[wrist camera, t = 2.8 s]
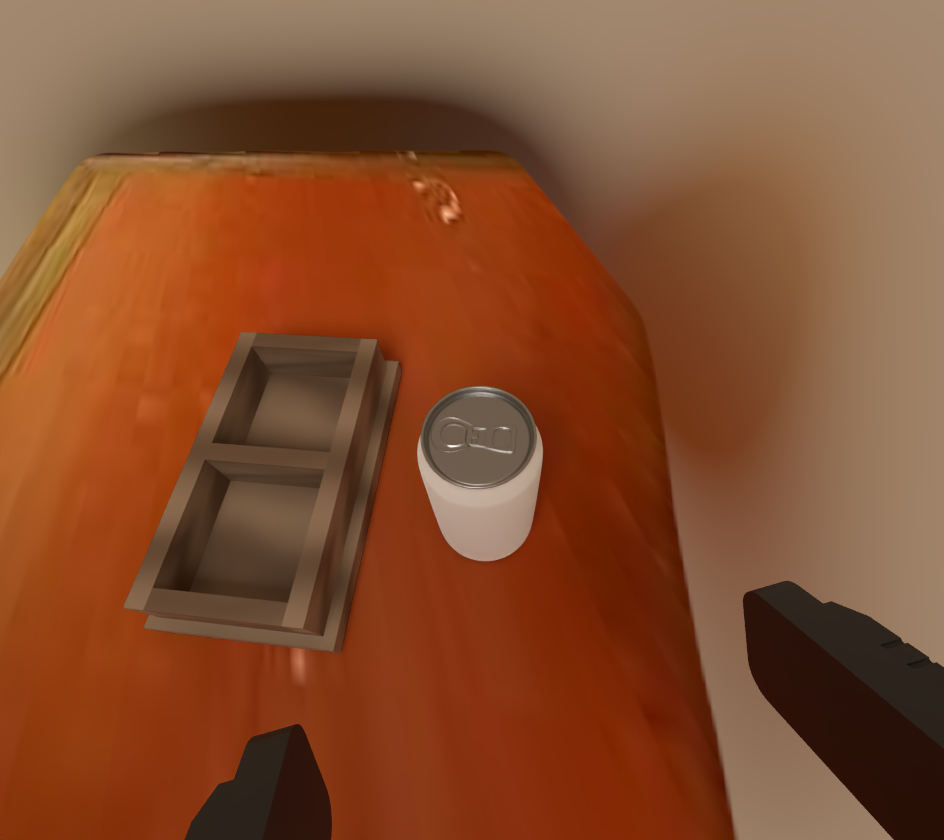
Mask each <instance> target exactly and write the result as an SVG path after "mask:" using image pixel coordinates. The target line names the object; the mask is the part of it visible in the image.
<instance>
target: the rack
mask: <svg viewBox="0 0 944 840" xmlns="http://www.w3.org/2000/svg"><path fill="white" fill-rule="evenodd" d="M401 373H402V371H401V368H400V365H399V361H387V360H384V358H383V355H382V352H381V349H380V346H379V343H378V340H377V339H359V338H340V337H322V336H304V335H285V334H267V333H249V332H241V334H240V337H239V339H238V341H237V344H236V346H235V348H234V351H233V353H232V355H231V358H230V360H229V362H228V365H227V367H226V369H225V372H224V374H223V376H222V379H221V381H220V383H219V386H218V388H217V390H216V393H215V395H214V397H213V400H212V402H211V404H210V407H209V409H208V411H207V414H206V416H205V418H204V421H203V423H202V425H201V428H200V430H199V432H198V435H197V437H196V439H195V441H194V444H193V446H192V448H191V451H190V453H189V455H188V458H187V460H186V462H185V465H184V467H183V469H182V472H181V474H180V476H179V479H178V481H177V483H176V486H175V488H174V490H173V493H172V495H171V497H170V500H169V502H168V504H167V507H166V509H165V511H164V514H163V516H162V518H161V521H160V523H159V525H158V528H157V530H156V532H155V535H154V537H153V539H152V542H151V544H150V546H149V549H148V551H147V553H146V556H145V558H144V560H143V563H142V565H141V567H140V570H139V572H138V574H137V577H136V579H135V581H134V584H133V586H132V588H131V591H130V593H129V595H128V598H127V600H126V602H125V604H124V607H123V608H126V609H130V610H134V611H138V612H141V613H145V614H149V616H148V618H147V621H146V623H145V626H144V628H145V629H150V630H154V631H160V632H168V633H176V634H185V635H193V636H201V637H210V638H218V639H226V640H235V641H243V642H251V643H260V644H268V645H276V646H285V647H293V648H301V649H310V650H318V651H326V652H335V653H341V649H342V644H343V640H344V635H345V631H346V626H347V621H348V617H349V612H350V608H351V603H352V598H353V594H354V589H355V585H356V580H357V575H358V571H359V566H360V562H361V557H362V553H363V548H364V543H365V539H366V534H367V530H368V525H369V520H370V516H371V511H372V507H373V502H374V497H375V493H376V488H377V484H378V479H379V474H380V470H381V465H382V461H383V456H384V451H385V447H386V442H387V438H388V433H389V428H390V424H391V419H392V415H393V410H394V405H395V401H396V396H397V392H398V387H399V383H400V378H401Z"/></svg>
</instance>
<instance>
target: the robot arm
mask: <svg viewBox="0 0 944 840" xmlns="http://www.w3.org/2000/svg"><path fill="white" fill-rule="evenodd" d="M743 608H744V619H745V631H746V642H747V653H748V662H749V667H750V670H751V673H752V676H753V678H754V680H755V682H756V684H757V686H758V688H759V689H760V691H761V693H762V694H763V695H764V697H765V698H766V699H767V701H768V702H769V703H770V704H771V705H772V706H773V707H774V708H775V709H776V711H777V712H778V713H779V714H780V715H781V716H782V717H783V718H784V719H785V720H786V721H787V723H788V724H789V725H790V726H791V727H792V728H793V729H794V730H795V731H796V733H797V734H798V735H799V736H800V737H801V738H802V739H803V740H804V741H805V742H806V743H807V745H808V746H809V747H810V748H811V749H812V750H813V751H814V752H815V753H816V755H817V756H818V757H819V758H820V759H821V760H822V761H823V762H824V763H825V764H826V766H827V767H828V768H829V769H830V770H831V771H832V772H833V773H834V774H835V775H836V777H837V778H838V779H839V780H840V781H841V782H842V783H843V784H844V785H845V786H846V788H847V789H848V790H849V791H850V792H851V793H852V794H853V795H854V796H855V798H856V799H857V800H858V801H859V802H860V803H861V804H862V805H863V806H864V807H865V809H866V810H867V811H868V812H869V813H870V814H871V815H872V816H873V817H874V818H875V819H876V821H878V823H879V824H880V825H881V826H882V827H883V828H884V829H885V831H886V832H887V833H888V834H889V835H890V836H891V837H892V838H893V839H894V840H944V667H942V666H941V665H940V664H938V663H937V662H936V663H932V662H931V661H930V659H929V657H928V656H926V655H925V654H923V653H922V652H920V651H919V650H918V649H916V648H914V647H913V646H912V645H910V644H909V643H906V644H905V643H903V642H902V640H901V638H900V637H898V636H897V635H895V634H894V633H893V632H891V631H890V630H888V629H887V628H885V627H884V626H882V625H881V624H879V623H878V622H876V621H875V620H873V619H872V618H871V617H869V616H867V615H864V614H862V613H859V612H856V611H854V610H852V609H849V608H847V607H844V606H842V605H839V604H837V603H834V602H828V603H824V604H823V603H821V602H820V601H819V600H817V599H816V598H814V597H813V596H812V595H810V594H809V593H808V592H806V591H805V590H803V589H802V588H801V587H799V586H798V585H796V584H795V583H793V582H790V581H784V582H780V583H777V584H773V585H770V586H766V587H763V588H759V589H756V590H753V591H749V592H747V593H746V594H745V595H744V598H743ZM331 831H332V817H331V806H330V800H329V795H328V791H327V788H326V786H325V783H324V781H323V778H322V775H321V773H320V770H319V768H318V765H317V762H316V760H315V757H314V755H313V752H312V750H311V747H310V744H309V742H308V739H307V737H306V734H305V732H304V730H303V728H302V727H301V726H300V725H299V724H295V725H292V726H289V727H285V728H282V729H278V730H275V731H271V732H268V733H264V734H261V735H257V736H254V737H252V738H251V739H250V740H249V741H248V743H247V745H246V747H245V750H244V753H243V756H242V758H241V761H240V764H239V767H238V770H237V773H236V775H235V778H234V780H231V781H228V782H224V783H221V784H218V786H217V787H216V789H215V790H214V791H213V793H212V794H211V796H210V797H209V798H208V800H207V801H206V803H205V804H204V805H203V807H202V808H201V810H200V811H199V812H198V814H197V815H196V817H195V818H194V819H193V821H192V823H191V825H190V828H189V830H188V833H187V835H186V838H185V840H331Z"/></svg>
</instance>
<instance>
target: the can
mask: <svg viewBox="0 0 944 840" xmlns="http://www.w3.org/2000/svg"><path fill="white" fill-rule="evenodd" d="M417 456H418V465H419V469H420V472H421V476H422V479H423V482H424V485H425V488H426V491H427V493H428V496H429V499H430V502H431V505H432V508H433V510H434V513H435V516H436V519H437V522H438V524H439V527H440V529H441V532H442V534H443V536H444V538H445V539H446V541H447V542H448V544H449V545H450V546H451V547H452V548H453V549H454V550H455V551H457V552H458V553H459V554H461V555H463V556H465V557H467V558H470V559H473V560H478V561H493V560H498V559H501V558H504V557H506V556H508V555H510V554H512V553H513V552H515V551H516V550H517V549H518V548H519V547H520V546H521V545H522V544H523V543H524V541H525V540H526V538H527V536H528V534H529V532H530V529H531V526H532V522H533V517H534V511H535V505H536V500H537V493H538V487H539V481H540V475H541V468H542V459H543V447H542V440H541V436H540V433H539V431H538V428H537V426H536V425H535V422H534V419H533V417H532V415H531V413H530V411H529V410H528V408H527V407H526V406H525V405H524V404H523V403H522V402H521V401H520V400H519V399H518V398H516V397H515V396H514V395H512V394H510V393H508V392H506V391H504V390H501V389H498V388H495V387H489V386H471V387H465V388H461V389H458V390H456V391H453V392H451V393H449V394H448V395H446V396H444V397H443V398H442V399H440V400H439V401H438V402H437V403H436V404H435V405H434V406H433V407H432V408H431V410H430V411H429V412H428V414H427V416H426V418H425V420H424V422H423V425H422V430H421V435H420V438H419V442H418V449H417Z"/></svg>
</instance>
